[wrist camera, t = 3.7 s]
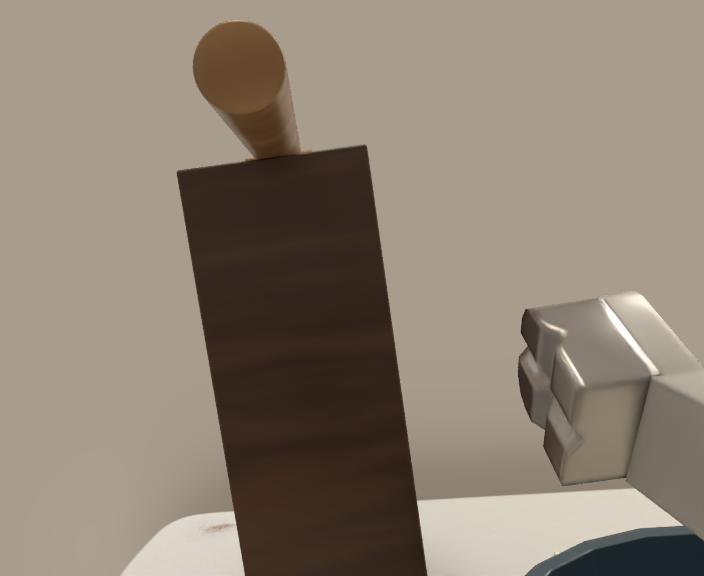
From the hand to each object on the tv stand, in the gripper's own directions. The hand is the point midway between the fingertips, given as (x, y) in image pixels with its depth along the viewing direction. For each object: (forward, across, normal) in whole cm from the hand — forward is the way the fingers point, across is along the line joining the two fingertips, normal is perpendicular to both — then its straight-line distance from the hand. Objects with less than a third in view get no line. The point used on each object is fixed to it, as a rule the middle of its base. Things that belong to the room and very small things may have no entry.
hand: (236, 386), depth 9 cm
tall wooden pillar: (+11, 0, +29) cm, 31 cm away
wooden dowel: (+19, 0, +5) cm, 20 cm away
